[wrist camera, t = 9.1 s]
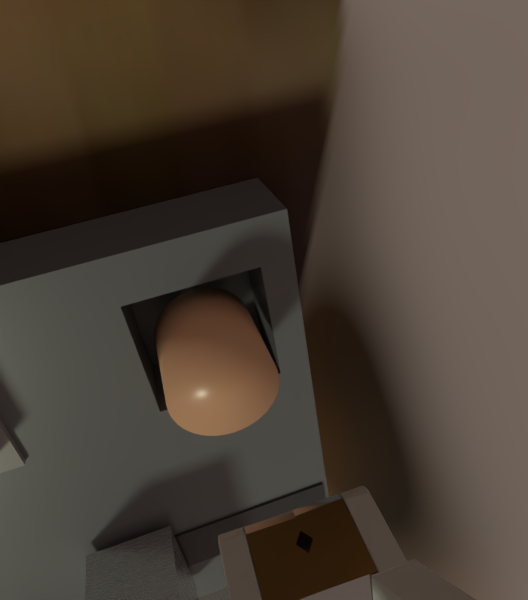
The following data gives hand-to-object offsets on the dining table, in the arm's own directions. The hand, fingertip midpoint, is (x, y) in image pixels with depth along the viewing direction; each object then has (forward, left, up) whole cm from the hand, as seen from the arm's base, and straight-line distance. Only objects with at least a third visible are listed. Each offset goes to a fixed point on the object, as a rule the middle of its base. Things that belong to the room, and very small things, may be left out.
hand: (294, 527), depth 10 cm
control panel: (0, -8, -9) cm, 12 cm away
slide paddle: (+5, -9, -6) cm, 12 cm away
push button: (-1, 0, -7) cm, 7 cm away
